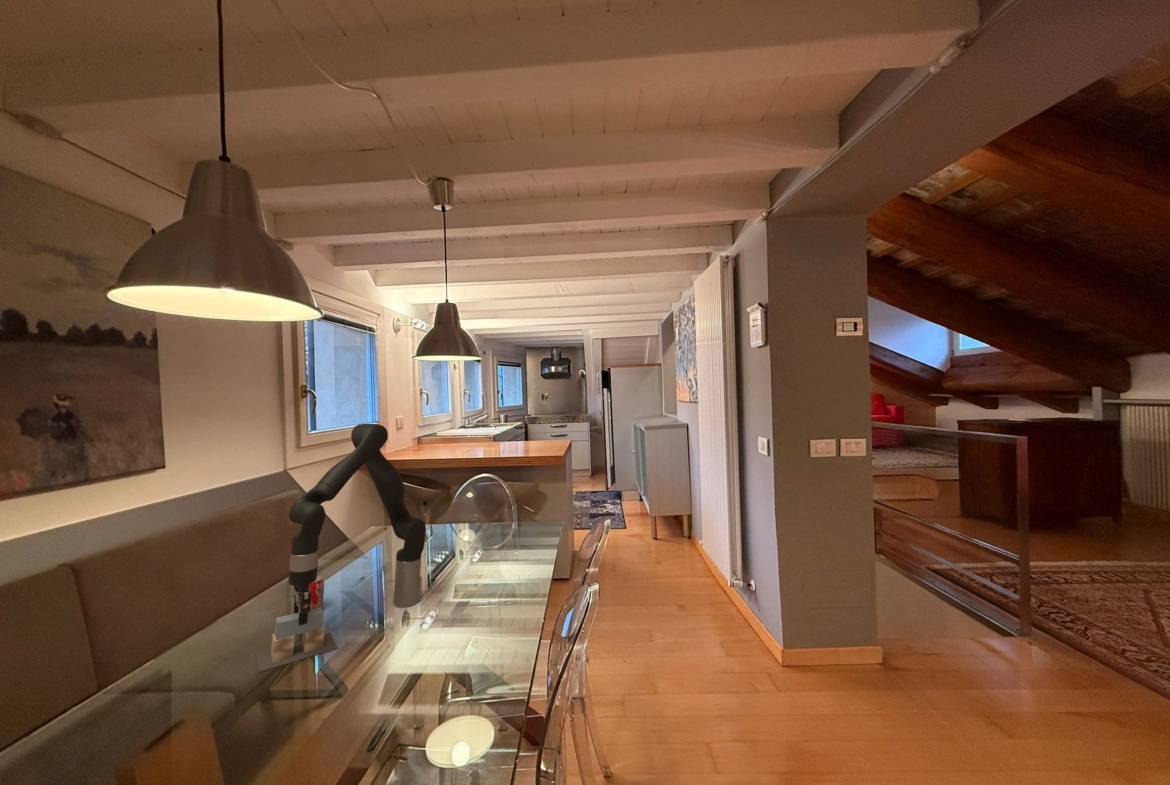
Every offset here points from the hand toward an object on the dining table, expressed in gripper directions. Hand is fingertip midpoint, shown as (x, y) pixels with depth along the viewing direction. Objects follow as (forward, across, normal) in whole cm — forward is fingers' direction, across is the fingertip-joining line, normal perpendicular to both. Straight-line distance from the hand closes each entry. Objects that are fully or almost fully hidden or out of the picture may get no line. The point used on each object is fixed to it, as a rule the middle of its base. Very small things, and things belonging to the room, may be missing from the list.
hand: (300, 618), depth 134 cm
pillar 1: (+10, 0, +4) cm, 11 cm away
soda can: (+10, +26, -8) cm, 29 cm away
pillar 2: (+10, 0, -4) cm, 11 cm away
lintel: (+4, 0, 0) cm, 4 cm away
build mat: (+10, 0, 0) cm, 10 cm away
